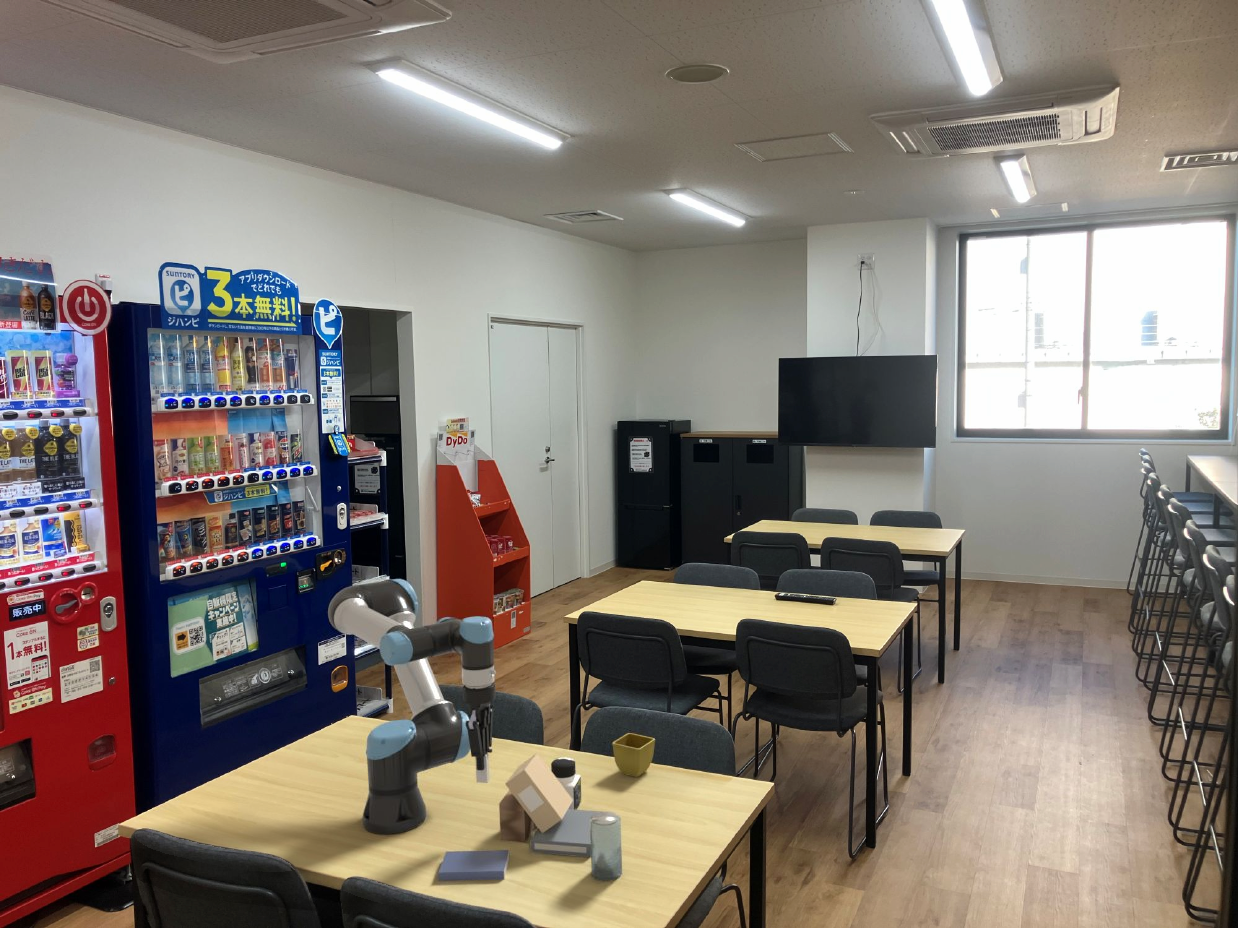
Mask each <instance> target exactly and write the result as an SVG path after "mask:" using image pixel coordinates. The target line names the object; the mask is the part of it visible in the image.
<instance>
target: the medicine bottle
mask: <svg viewBox="0 0 1238 928" xmlns="http://www.w3.org/2000/svg"><path fill="white" fill-rule="evenodd" d="M550 766H551V767H550V768H551V769H550V770H551V772H552V773H553V774H554V775H555V777H556V778H557V779H558V781H559V782H560V783H561V785H562V786H563V787H564V789H565V790H566V791H567V793H568V794H569V795H570V797H571V798H572V799H573V801H572V803H571V805H570V806H569V808H568V809H574V810H579V809H578V808H579V807H580V804H581V803H582V777H581V776H582V775H580V774H577V773H576V772H577V771H576V770H577V769H576V761H575V760H574V759H573V758H570V757H558V758H555V759H554V760H553V761H552V762H551V764H550Z"/></svg>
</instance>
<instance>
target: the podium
mask: <svg viewBox="0 0 1238 928" xmlns="http://www.w3.org/2000/svg"><path fill="white" fill-rule="evenodd" d="M599 812H603V811H602V810H601V811H600V810H587V809H586V810H583V809H577V810H574V809H568V810H567V811H566V813H565V815H564V817H563V818H562V820H560V821H559V822H558V823H556V824H555V825H553V826H552V827H550V828H549V829H548V830H546V831H545V832H543V833H542V832H541V831H540V830H539V828H538V827H536V830H535V831H534V833H533V834H532V837H530V839H529V840H530V843H529V844H530V853H535V854H536V853H537V854H547V855H560V856H569V857H570V856H572V857H582V858H583V857H585V858H591V839H590V818H591V817H592V816H593V815H595V814H596V813H599Z"/></svg>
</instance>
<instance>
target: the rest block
mask: <svg viewBox="0 0 1238 928" xmlns="http://www.w3.org/2000/svg"><path fill="white" fill-rule="evenodd" d="M498 806H499V807H498V808H499V810H498V811H499V834H500V835H499V837H500V842H508V843H511V842H512V843H522V844H523V843H525V844H526V842H527V841H528V839H529V838H530V836H531V834H532V833H533V832H534V830H535V828H537V826H536V824H535V823H534V822H533V820H532V819H531V818H530V816H529V815H528V814H527V812H526V811H525V810H524V808H523V807H522V806H521V804H520V803H519V802H518V800H517V799H516V798H515V796H514V795H513V794H512V792H511V791H510V790H509V789H508V791H507V792H506V794H505V795H504V797H503V798H502V799H501V801H500V802H499V803H498Z"/></svg>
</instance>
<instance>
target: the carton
mask: <svg viewBox="0 0 1238 928" xmlns="http://www.w3.org/2000/svg"><path fill="white" fill-rule="evenodd" d="M504 785H505V786H506V787H507V789H508V791H509V790H510V791H511V792H512V794H513V795H514V796H515V798H516V799H517V800H518V802H519V803H520V804H521V806H522V807H523V808H524V810H525V811H526V812H527V814H528V815H529V816H530V818H531V819H532V820H533V822H534V823H535V825H536V828H539V830H540V831H541V832H542V833H543V832H545V831H546V830H548V829H549V828H550V827H552V826H553V825H555V824H556V823H558V822H559V821H560V820H562V818H563V817H564V815H565V813H566V811H567V810H568V808H569V806H570V805H571V803H572V801H573V799H572V798H571V797H570V795H569V794H568V793H567V791H566V790H565V789H564V787H563V786H562V785H561V783H560V782H559V781H558V779H557V778H556V777H555V775H554V774H553V773H552V772H551V769H550V767H549V766H548V765H547V763H546V762H545V761H544V759H543V758H542V757H541V755H539V753H538V752H536V753H535V754H533V755H532V756H530V757H529V758H528V759H527V760H525V761H524V762H523V763H522V764H520V765H519V766H518V767H517V768H516V769H515V771H514V772H513V773H512V775H510V777H509V778H508V780H507V781H506V782H505V783H504Z"/></svg>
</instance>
